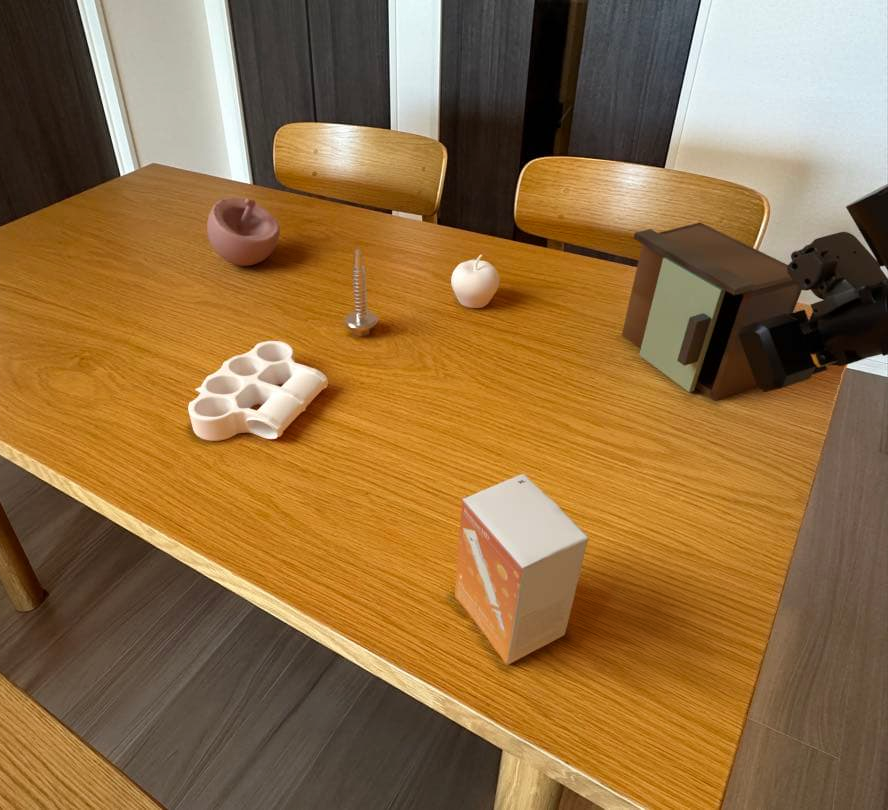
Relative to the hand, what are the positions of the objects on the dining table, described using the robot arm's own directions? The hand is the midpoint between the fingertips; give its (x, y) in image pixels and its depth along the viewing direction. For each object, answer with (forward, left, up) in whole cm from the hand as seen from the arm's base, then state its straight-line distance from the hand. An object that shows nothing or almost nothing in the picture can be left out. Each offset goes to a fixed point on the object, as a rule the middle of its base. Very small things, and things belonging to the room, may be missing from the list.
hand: (763, 354), depth 72 cm
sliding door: (+8, -10, -11) cm, 16 cm away
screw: (+48, -11, -11) cm, 50 cm away
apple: (+34, -23, -11) cm, 42 cm away
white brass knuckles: (+56, +8, -11) cm, 57 cm away
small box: (+21, +31, -11) cm, 39 cm away
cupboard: (+5, -14, -11) cm, 19 cm away
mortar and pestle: (+74, -28, -11) cm, 80 cm away
